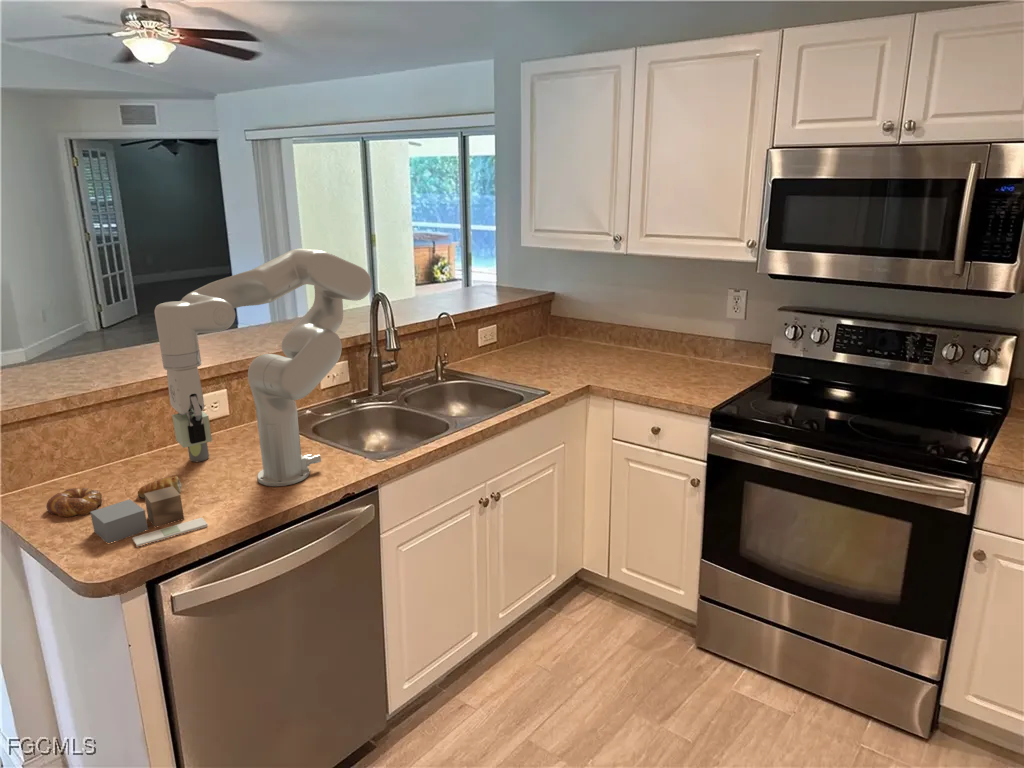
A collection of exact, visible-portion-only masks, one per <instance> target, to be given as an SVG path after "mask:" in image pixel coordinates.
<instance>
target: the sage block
mask: <svg viewBox="0 0 1024 768" xmlns="http://www.w3.org/2000/svg"><path fill="white" fill-rule="evenodd" d="M189 412H192V411H189ZM193 416H194V414H193V415H191V419H192V417H193ZM209 417H210V416H209V415H208V414H207V413H206V412H204V410H203V411H202V418H203V423H204V429H205V436H206V440H205V441H202V442H198V443H194V444H191V443H190V438H189V432H188V426H189V423H188V419H187V415H186V413H185V415H181V414H180V413H179V414H178V413H174V414H172V415H171V418H172V423H173V430H174V435H175V441H176V442H177V443H178V444H179V445H180V446H181V447H182V448H183V449H185V448H188V447H190V446H194V445H198V444H203V443H207V444H208V443H209V442H210V443H211V442H213V438H212V431H211V423H210V418H209Z"/></svg>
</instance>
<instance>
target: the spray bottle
mask: <svg viewBox="0 0 1024 768" xmlns="http://www.w3.org/2000/svg"><path fill="white" fill-rule="evenodd" d="M187 450H188V457H189V460H190V461H191V462H194V463H200V462H204V461H206V460H208V458H210V453H209V446H208V442H207V443H203V444H198V445H194V446H190V447H187Z"/></svg>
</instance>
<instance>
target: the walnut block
mask: <svg viewBox="0 0 1024 768" xmlns="http://www.w3.org/2000/svg"><path fill="white" fill-rule="evenodd" d="M144 497H145V499H144V501H145V506H146V513H147V518H148V519H149V521H150V522H152V523H151V524H152V525H153V527H154V528H155V527H156V528H158V527H157V526H159V527H163V526H166V525H169V524H172V523H171V522H173V523H175V522H174V521H176V522H179V521H178V520H180V521H182V520H181V519H183V520H185V516H184V515H185V514H184V510H183V504H182V497H181V493H178V492H177V490H176V489H175V488H174V487H173V486H171V487H167V488H164V489H160V490H156V491H152V492H148V493H144ZM168 523H169V524H168ZM165 524H166V525H165ZM162 525H163V526H162Z"/></svg>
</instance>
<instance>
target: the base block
mask: <svg viewBox="0 0 1024 768" xmlns="http://www.w3.org/2000/svg"><path fill="white" fill-rule="evenodd" d="M89 514H90V518H91V523H92V528H93V531H94V533H95V534H96V535H97V536H98V537H99V538H100V537H101V538H100V539H102V540H103V542H105V543H106V542H107V543H111V542H113V543H115V542H114V541H116V542H119V541H121V539H122V540H124V539H123V538H125V539H127V538H126V537H128V538H130V537H134V536H136V535H139V534H141V533H140V532H142V533H144V532H143V531H145V530H148V531H149V527H148V523H147V522H148V521H147V515H146V510H145V509H144V508H142V507H141V506H140V505H139V504H138V503H136V502H135V501H133V500H132V499H127V500H124V501H119V502H117V503H114V504H110V505H108V506H103V507H101V508H96V510H94V511H91V512H90V513H89ZM145 532H146V531H145ZM138 533H139V534H138ZM135 534H136V535H135ZM129 536H130V537H129ZM118 540H119V541H118ZM107 543H106V544H107ZM111 544H112V543H111Z"/></svg>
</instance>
